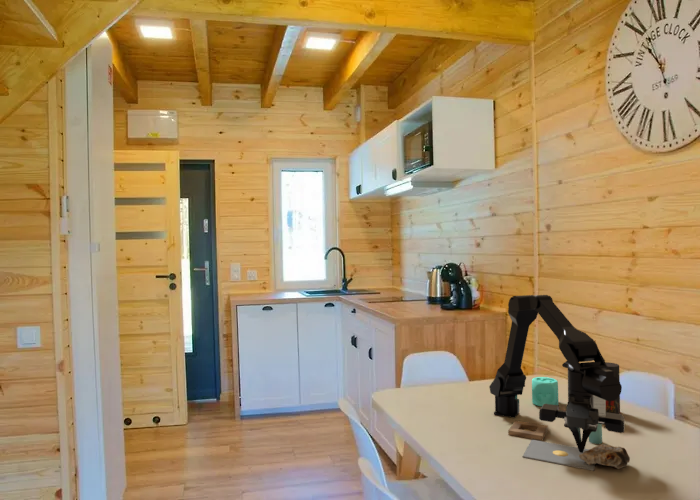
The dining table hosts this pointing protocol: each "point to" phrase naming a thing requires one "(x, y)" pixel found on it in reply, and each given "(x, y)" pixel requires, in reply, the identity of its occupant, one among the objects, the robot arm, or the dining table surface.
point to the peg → (596, 435)
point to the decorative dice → (544, 391)
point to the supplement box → (600, 405)
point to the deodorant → (615, 405)
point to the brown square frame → (517, 431)
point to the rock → (606, 456)
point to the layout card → (556, 454)
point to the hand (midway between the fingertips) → (581, 452)
